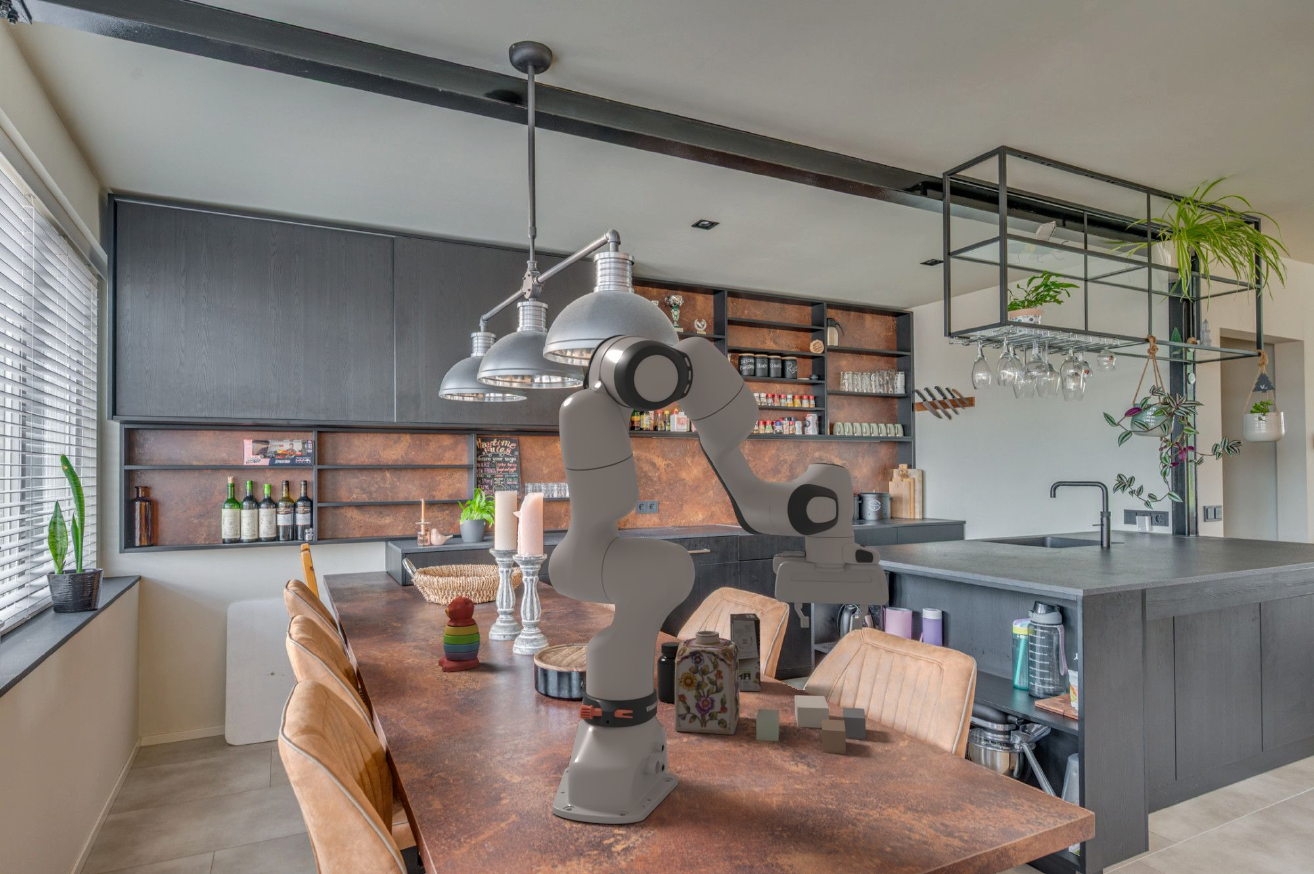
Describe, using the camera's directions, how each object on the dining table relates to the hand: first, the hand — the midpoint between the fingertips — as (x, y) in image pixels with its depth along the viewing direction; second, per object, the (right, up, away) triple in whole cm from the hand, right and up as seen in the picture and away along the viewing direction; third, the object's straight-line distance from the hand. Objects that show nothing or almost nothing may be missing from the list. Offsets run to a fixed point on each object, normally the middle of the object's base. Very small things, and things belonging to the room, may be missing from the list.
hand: (831, 627), depth 135 cm
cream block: (-1, -22, +13) cm, 26 cm away
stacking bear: (-83, -25, +58) cm, 105 cm away
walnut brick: (0, -21, -1) cm, 21 cm away
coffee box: (-11, -24, +38) cm, 46 cm away
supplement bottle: (-28, -23, +28) cm, 46 cm away
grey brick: (+6, -22, +6) cm, 23 cm away
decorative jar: (-22, -22, +12) cm, 33 cm away
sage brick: (-11, -22, +5) cm, 25 cm away
